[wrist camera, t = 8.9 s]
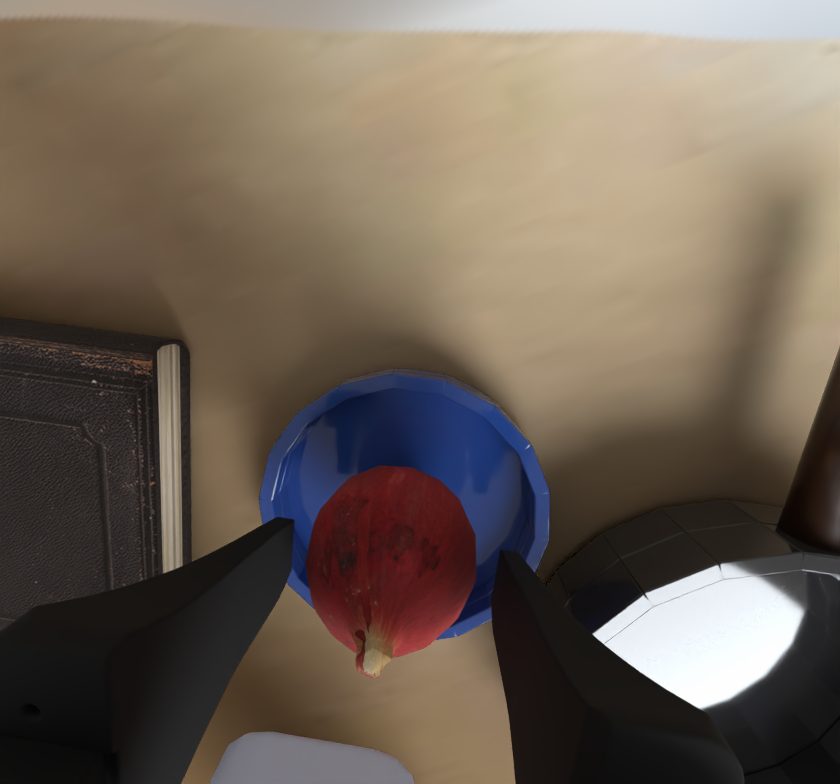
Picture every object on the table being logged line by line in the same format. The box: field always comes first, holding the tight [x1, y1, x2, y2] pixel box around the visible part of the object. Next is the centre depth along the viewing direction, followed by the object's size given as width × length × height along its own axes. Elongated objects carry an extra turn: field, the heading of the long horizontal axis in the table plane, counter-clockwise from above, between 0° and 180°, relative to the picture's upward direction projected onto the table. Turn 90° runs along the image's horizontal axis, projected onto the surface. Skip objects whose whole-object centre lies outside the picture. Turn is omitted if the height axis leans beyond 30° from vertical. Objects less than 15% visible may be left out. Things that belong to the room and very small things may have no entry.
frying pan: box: [547, 499, 840, 784], centre depth 16 cm, size 16×16×4 cm
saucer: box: [259, 368, 550, 640], centre depth 17 cm, size 12×12×2 cm
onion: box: [306, 465, 476, 677], centre depth 13 cm, size 6×6×8 cm
